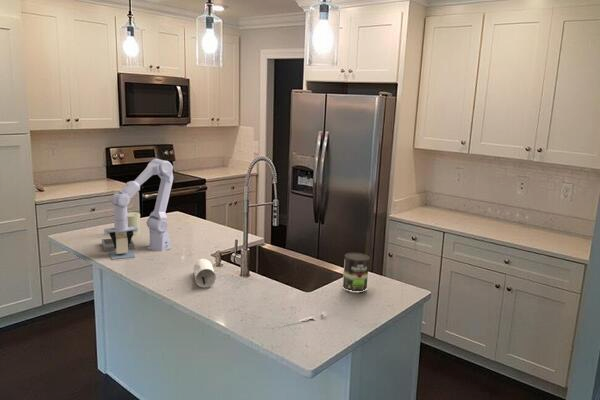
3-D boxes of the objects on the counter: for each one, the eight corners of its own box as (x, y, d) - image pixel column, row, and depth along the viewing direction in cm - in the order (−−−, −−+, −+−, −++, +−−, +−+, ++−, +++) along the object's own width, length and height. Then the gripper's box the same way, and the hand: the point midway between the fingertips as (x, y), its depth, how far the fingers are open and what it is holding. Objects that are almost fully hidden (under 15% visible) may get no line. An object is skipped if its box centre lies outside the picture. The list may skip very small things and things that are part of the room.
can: (137, 238, 250) (136, 216, 247) (119, 237, 250) (118, 215, 247) (143, 233, 259) (142, 211, 256) (126, 232, 259) (125, 210, 256)
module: (126, 250, 225) (126, 234, 223) (128, 252, 220) (127, 237, 219) (115, 251, 222) (114, 235, 221) (116, 253, 218) (116, 238, 217)
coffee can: (370, 293, 194) (373, 260, 192) (346, 293, 192) (348, 260, 189) (362, 283, 204) (365, 252, 201) (339, 284, 202) (341, 252, 199)
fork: (275, 327, 163) (275, 322, 163) (323, 314, 173) (323, 310, 173) (280, 331, 161) (280, 326, 160) (328, 318, 171) (329, 313, 170)
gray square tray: (130, 242, 242) (130, 236, 242) (134, 250, 231) (134, 244, 230) (101, 245, 236) (101, 239, 235) (104, 253, 224) (104, 247, 224)
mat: (131, 252, 228) (131, 250, 228) (135, 258, 219) (134, 256, 219) (109, 254, 223) (109, 252, 223) (111, 261, 215) (111, 259, 215)
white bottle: (210, 270, 210) (211, 253, 208) (215, 287, 192) (215, 268, 191) (192, 271, 208) (192, 254, 206) (195, 288, 190) (195, 269, 188)
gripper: (135, 215, 224) (136, 243, 227) (102, 218, 218) (104, 246, 221) (138, 219, 218) (139, 247, 221) (104, 221, 212) (105, 251, 215)
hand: (121, 247), depth 221 cm, fingers closed on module, 5 cm apart
